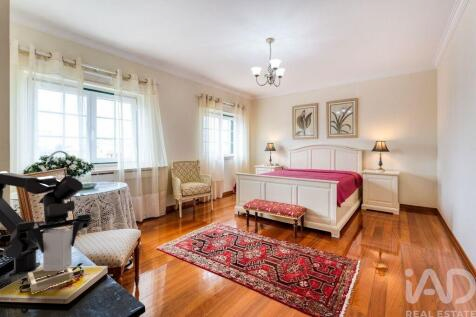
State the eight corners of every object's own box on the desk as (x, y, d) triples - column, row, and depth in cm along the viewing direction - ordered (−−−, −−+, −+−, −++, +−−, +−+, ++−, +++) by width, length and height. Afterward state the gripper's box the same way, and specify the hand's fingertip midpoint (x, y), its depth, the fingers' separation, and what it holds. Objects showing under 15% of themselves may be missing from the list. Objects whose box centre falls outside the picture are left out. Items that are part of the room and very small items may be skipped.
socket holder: (27, 281, 72) (27, 272, 72) (66, 270, 79) (66, 261, 79) (32, 294, 65) (32, 284, 65) (73, 280, 73) (73, 271, 73)
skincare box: (72, 264, 72) (73, 228, 72) (62, 271, 68) (63, 232, 68) (52, 264, 72) (53, 228, 72) (41, 272, 67) (42, 232, 67)
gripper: (17, 196, 66) (16, 244, 58) (90, 190, 79) (98, 229, 71) (16, 217, 71) (16, 263, 64) (85, 208, 85) (91, 245, 77)
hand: (58, 249), depth 69 cm, fingers closed on skincare box, 7 cm apart
